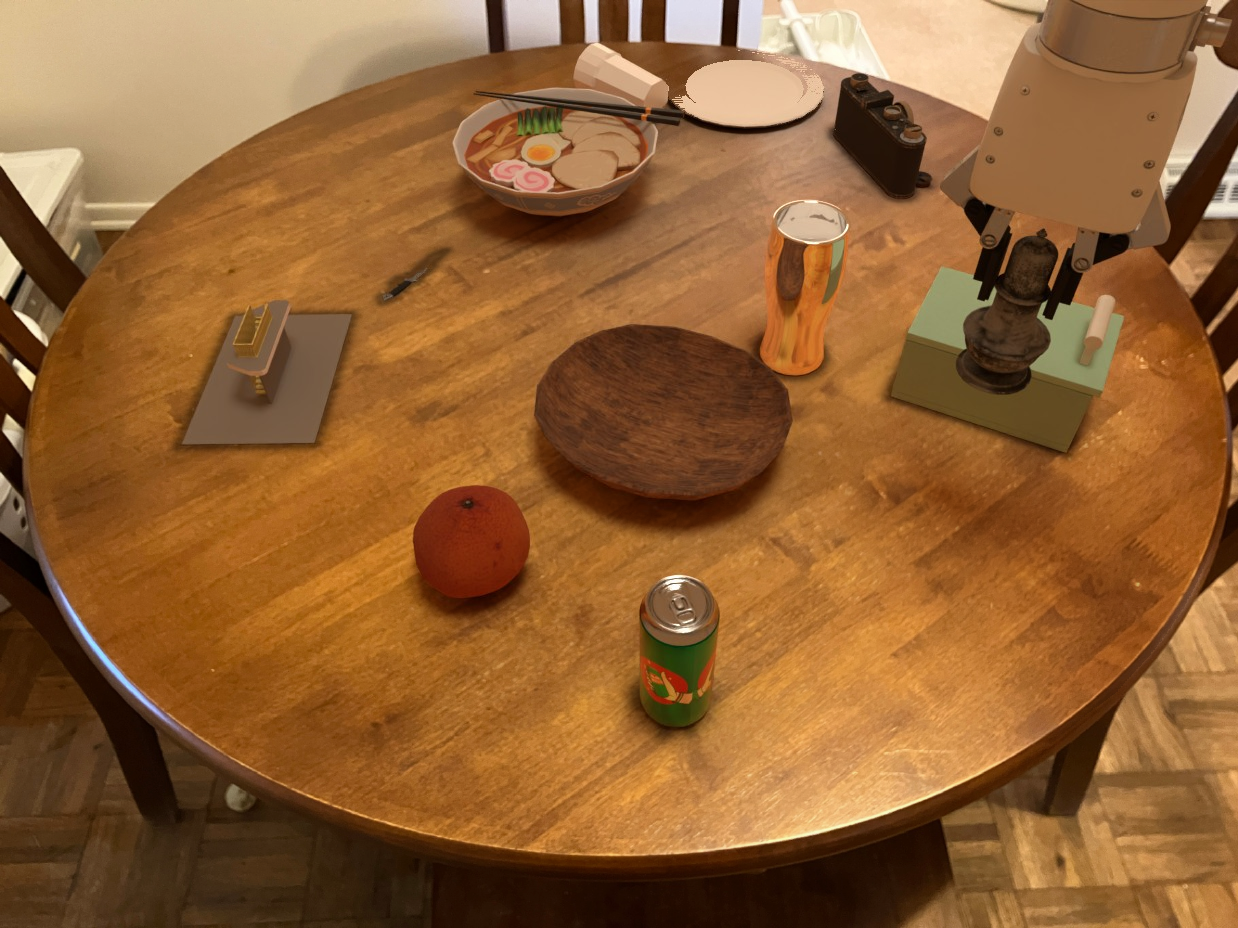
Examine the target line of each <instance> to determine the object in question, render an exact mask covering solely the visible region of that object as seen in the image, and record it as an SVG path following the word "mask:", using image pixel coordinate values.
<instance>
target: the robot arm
mask: <svg viewBox="0 0 1238 928" xmlns="http://www.w3.org/2000/svg"><path fill="white" fill-rule="evenodd" d="M1208 2H1209V0H1047V2H1046V6H1045V8H1044V13H1043V15H1042V19H1041V22H1037V23H1034V24H1032V25H1030V26H1029V27H1028V28H1027V30H1026V31H1025V33H1024V35H1023V36H1022V38H1021V40H1020V43H1019V44H1018V45H1017V48H1016V50H1015V52H1014V55H1013V57H1012V60H1011V62H1010V64H1009V65H1008V68H1007V72H1006V73H1005V76H1004V78H1003V81H1002V84H1001V86H1000V89H999V91H998V93H997V97H996V99H995V102H994V104H993V107H992V110H991V113H990V115H989V118H988V121H987V125H986V127H985V130H984V133H983V136H982V138H981V142H980V143H978V144H977V145H976V146H974V148H973V149H972V150H971V151H970V152H968V153H967V154H966V155H965V156H964V157H963V158H962V159H961V160H960V161H959V162H957V163H956V164H955V165H953V167H952V168H950V169H949V170H948V171H947V172H946V174H945V175H944V176H943V179H942V181H941V182H940V185H939V187H940V191H942V193H943V194H944V195H946V196H947V197H948V198H949V199H950V200H951V201H952V202H953V203H954V204H956V206H957V207H960V208H962V210H963V212H964V215H965V217H966V218H967V219H968V221H969V223H970V224H971V225H972V227H973V228H974V230H975V231H976V233H977V234H978V236H979V241H978V242H979V244H980V246H981V247H982V248H981V251H980V254H979V258H978V261H977V264H976V267H975V270H974V274H973V275H974V277H973V280H977V281H981V282H982V285H981V288H980V291H979V294H978V297H977V300H981V301H985V300H989V297H990V295H991V293H992V290H993V288H994V286H995V281H996V279H997V277H998V276H999V275H1000V274H1001V270H1002V267H1003V263H1004V260H1005V258H1006V255H1007V252H1008V250H1009V249H1008V248H1009V246H1010V243H1011V239H1012V236H1013V232H1011V230H1012V228H1011V225H1010V223H1011V222H1012V219H1013V218H1014V216H1015V214H1016V213H1017V214H1023V215H1027V216H1030V217H1034V218H1038V219H1043V220H1046V221H1052V222H1055V223H1059V224H1063V225H1067V226H1071V227H1076V228H1077V230H1076V237H1075V240H1074V242H1072V244H1071V246H1070V247H1067V248H1066V251H1065V253H1064V256H1063V259H1062V262H1061V263H1060V267H1059V269H1058V271H1057V274H1056V277H1055V279H1054V282H1053V285H1052V286H1051V293H1050V296H1049V298H1048V300H1047V303H1046V306H1045V309H1044V311H1043V314H1042V315H1043V316H1045V318H1046V319H1049V320H1053V317H1054V315H1055V312H1056V310H1057V307H1058V305H1059V303H1062V304H1066V305H1071V302H1073V299H1074V297H1075V295H1076V292H1077V291H1078V288H1079V285H1080V283H1081V280H1082V278H1083V276H1084V274H1085V273H1087V272H1089V271H1090V270H1091V269H1092V267H1093V266H1095V265H1098V264H1100V263H1102V262H1104V261H1108V260H1110V259H1112V258H1114V257H1115V258H1116V257H1118V256H1119V255H1122V254H1124V253H1125V252H1126V251H1129V250H1134V251H1135V250H1140V249H1145V248H1151V247H1156V246H1161V245H1164V244H1165V243H1166V242H1167V241H1168V239H1169V236H1170V233H1171V227H1172V225H1171V221H1170V217H1169V214H1168V210H1167V205H1166V201H1165V197H1164V194H1163V189H1162V185H1161V182H1160V180H1161V177H1162V175H1163V172H1164V170H1165V168H1166V165H1167V163H1168V160H1169V158H1170V155H1171V152H1172V149H1173V146H1174V144H1175V141H1176V138H1177V135H1178V132H1179V131H1180V127H1181V125H1182V122H1183V119H1184V115H1185V112H1186V109H1187V105H1188V102H1189V100H1190V96H1191V93H1192V89H1193V85H1194V82H1195V75H1196V71H1197V66H1198V55H1197V53H1195V50H1196V47H1200V48H1205V47H1206V46H1211V47H1217V48H1222V46H1223V44H1224V42H1225V40H1226V38H1227V35H1228V33H1229V31H1230V28H1231V26H1232V23H1233V19H1229V18H1224V17H1219V16H1218V13H1213V12H1211V9H1212V6H1209V5H1208Z"/></svg>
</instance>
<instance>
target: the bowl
mask: <svg viewBox="0 0 1238 928" xmlns="http://www.w3.org/2000/svg"><path fill="white" fill-rule="evenodd" d="M789 393H790V392H789V389H788V388H787V386H786V385H785V384H784V383H783V381H782V380H781V378H780V377H779V376H778V374H776V372H775V371H774V370H772V369H771V368H770V367H769V366H767V365H766V364H765V363H764V362H763V361H762V360H761V359H759V358H757V356H755V355H753V354H752V353H750V352H749V351H748V350H745V349H744V348H740V347H738V346H737V345H735V344H731V343H729V342H727V341H724V340H722V339H719V338H717V337H715V336H712V335H708V334H705V333H700V332H697V331H694V330H690V329H685V328H682V327H679V326H671V325H655V324H641V323H640V324H639V323H629V324H625V325H621V326H616V327H611V328H607V329H601V330H598V331H597V332H595V333H593V334H592V333H591V334H590V335H589V336H586V337H584V338H581V339H580V340H577V341H575V342H574V343H572V344H571V345H570V346H569V347H568V348H567V349H565V351H563V352H562V353H561V354H559V356H558V357H556V358H555V359H554V360H553V361H552V362H551V363H550V365H548V368H547V369H546V370H545V372H544V374H543V375H542V377H541V379H540V380H539V382H538V383H537V384H536V389H535V400H534V401H535V402H534V412H533V416H534V419H535V420H536V422H537V424H538V426H539V428H540V429H541V431H542V433H543V435H544V438H545V439H546V441H548V442H549V444H550V445H552V446H553V447H554V448H555V449H556V451H557V452H558V453H559V454H560V455H562V457H564V459H565V460H566V461H568V462H569V463H570V464H571V465H572V467H574V468H575V470H577V471H580V472H582V473H583V474H585V475H587V476H589V477H591V478H593V479H594V480H596V481H598V482H600V483H602V484H604V485H605V486H607V487H609V488H611V489H615V490H617V491H618V490H619V491H622V492H626V493H630V494H634V495H637V496H640V497H644V498H651V499H667V500H683V501H698V500H702V499H706V498H709V497H713V496H717V495H721V494H725V493H728V492H732V491H735V490H737V489H738V488H740V487H741V486H743V485H745V484H747V482H749V481H751V480H752V479H753V478H755V477H756V476H758V475H760V474H761V473H762V472H763V471H765V469H766V468H767V467H768V466H769V464H770V463H772V461H773V460H774V459H775V458H776V456H778V455H779V453H780V452H781V451H782V450H783V449H784V446H785V443H786V441H787V438H788V436H789V433H790V429H791V427H792V424H793V421H794V419H793V413H792V408H791V400H790V394H789Z"/></svg>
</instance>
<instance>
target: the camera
mask: <svg viewBox="0 0 1238 928" xmlns="http://www.w3.org/2000/svg"><path fill="white" fill-rule="evenodd" d="M869 79H870V78H869V75H867V74H866V73H862V72H856V73H853V74H852V75H851V76H848V77H845V78H843V79H842V80H841V81H840V89H839V96H838V102H837V108H836V115H835V121H834V127H835V128H834V127H833V132H832V135H833V137H834V138H835V139H836V141H838V143H839V144H840V145H841V146H842V147H843V148H844V149H845V150H846V151H847V152H848V153H849V154H850V155H851V157H852V158H854V159H855V161H856V162H857V163H858V164H859V165H860V166H861V167H862V168H863V169H864V170H865V171H866V172H867V174H868V175H869V176H870V177H871V178H872V179H873V180H874V181H875V182H876V184H877V185H879V187H881V189H882V190H883V191H884V192H885V193H886V194H887V195H888V196H890V197H892V198H895V199H908V198H911V197H912V196H914V194H915V192H916V187H917V188H926V187H928V186H930V184H931V182H932V181H933V176H932V175H931V174H930V173H928V172H926V171H922V170H921V171H920V169H921V164H922V161H923V156H924V151H925V147H926V144H927V141H928V138H927V136H926V134H925V133H924V132H923V127H922V126H921V125H919V124H917V123H915V118H914V116H915V115H914V111H913V109H912V107H911V106H910V103H908V102H907V101H905V100H900V101H896V102H894V99H895V94H894V93H892V91H890V90H889V89H886V90H883V91H879V90H878V89H877V88H876V87H875V86H874V85H873V84H872V83H870V81H869ZM835 129H836V130H835Z"/></svg>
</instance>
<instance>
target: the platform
mask: <svg viewBox="0 0 1238 928" xmlns="http://www.w3.org/2000/svg"><path fill="white" fill-rule="evenodd" d="M290 311H291V304H290V302H289V300H287V299H279V300H278V299H276V300H271V301H270V302H267V303H264V304H262V305H260V306H258V307H256V308H252V306H251V304H248V306H247V308H246V311H245V312H244V314H243V315H234V317H233V320H232V323H231V324H230V327H229V330H228V332H227V334H226V337H225V339H224V342H223V344H222V346H221V349H220V351H219V353H218V355H217V358H216V361H215V363H214V365H213V368H212V370H211V372H210V375H209V377H208V380H207V382H206V385H205V387H204V389H203V392H202V394H201V396H200V399H199V401H198V404H197V406H196V408H195V411H194V413H193V416H192V417H191V420H190V422H189V425H188V428H187V431H186V432H185V435H184V437H183V440H182V442H181V445H256V444H257V445H259V444H265V445H267V444H315V443H316V440H317V436H318V432H319V429H320V426H321V422H322V420H323V416H324V412H325V408H326V405H327V401H328V398H329V396H330V392H331V389H332V384H333V381H334V378H335V374H336V371H337V368H338V364H339V360H340V357H341V354H342V351H343V348H344V343H345V340H346V337H347V333H348V330H349V326H350V323H351V319H352V317H353V313H332V314H331V313H329V314H327V313H326V314H323V313H322V314H289V313H290Z"/></svg>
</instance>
